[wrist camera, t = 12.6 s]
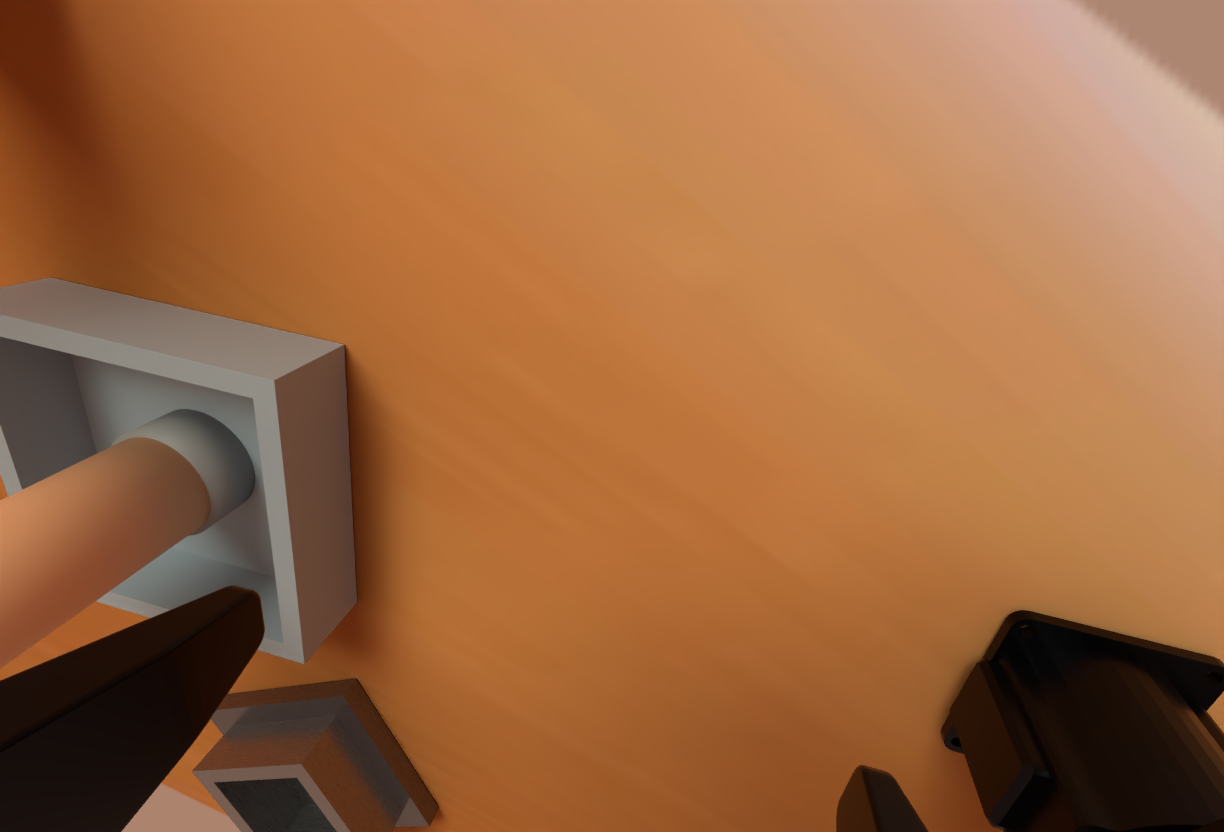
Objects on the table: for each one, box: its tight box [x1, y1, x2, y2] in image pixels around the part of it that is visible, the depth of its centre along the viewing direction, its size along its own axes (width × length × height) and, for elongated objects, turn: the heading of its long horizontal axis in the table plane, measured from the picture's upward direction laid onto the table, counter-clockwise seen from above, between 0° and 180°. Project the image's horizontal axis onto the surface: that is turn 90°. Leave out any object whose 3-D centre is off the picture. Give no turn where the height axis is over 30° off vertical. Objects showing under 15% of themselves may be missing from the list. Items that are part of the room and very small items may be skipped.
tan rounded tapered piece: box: [0, 409, 255, 668], centre depth 18 cm, size 4×4×14 cm
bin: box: [0, 277, 357, 664], centre depth 23 cm, size 12×12×4 cm
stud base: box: [192, 679, 438, 832], centre depth 30 cm, size 9×9×4 cm
